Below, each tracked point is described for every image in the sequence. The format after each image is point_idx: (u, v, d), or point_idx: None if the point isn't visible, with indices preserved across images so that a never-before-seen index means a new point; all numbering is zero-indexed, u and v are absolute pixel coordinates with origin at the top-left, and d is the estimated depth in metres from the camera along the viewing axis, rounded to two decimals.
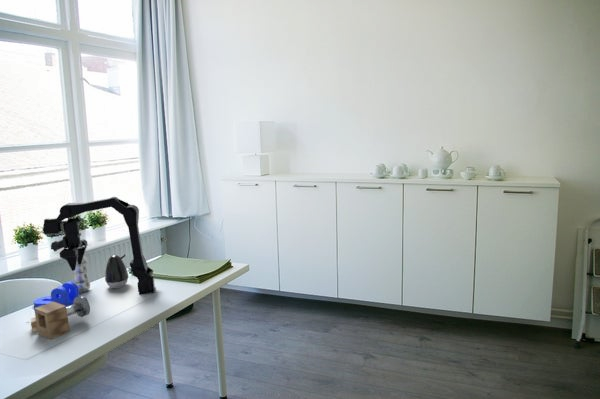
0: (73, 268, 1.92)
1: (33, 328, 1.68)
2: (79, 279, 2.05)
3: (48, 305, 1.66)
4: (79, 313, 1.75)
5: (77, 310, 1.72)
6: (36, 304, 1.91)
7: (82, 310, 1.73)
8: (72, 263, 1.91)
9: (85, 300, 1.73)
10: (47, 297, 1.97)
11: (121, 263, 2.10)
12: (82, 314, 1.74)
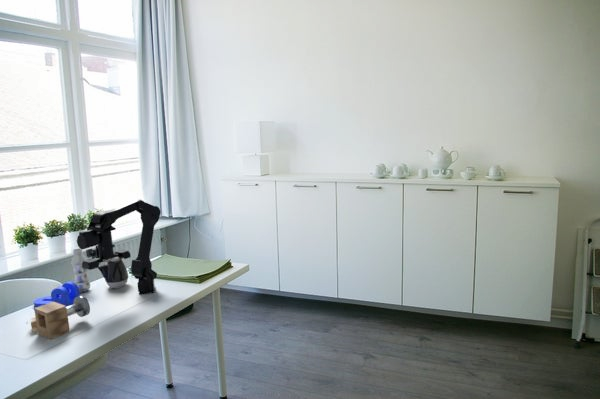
0: (105, 278, 1.85)
1: (33, 328, 1.68)
2: (79, 279, 2.05)
3: (48, 305, 1.66)
4: (79, 313, 1.75)
5: (77, 310, 1.72)
6: (36, 304, 1.91)
7: (82, 310, 1.73)
8: (103, 273, 1.84)
9: (85, 300, 1.73)
10: (47, 297, 1.97)
11: (121, 263, 2.10)
12: (82, 314, 1.74)
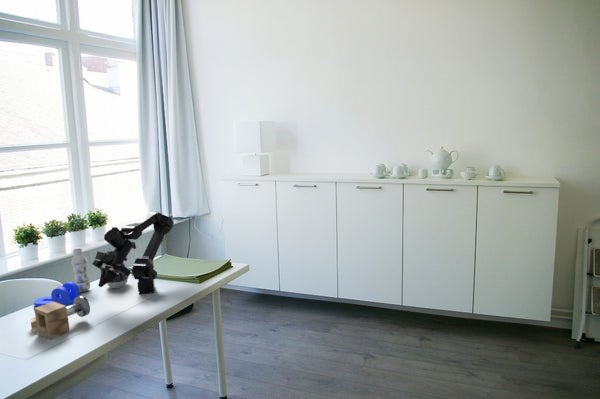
0: (102, 284, 1.81)
1: (33, 328, 1.68)
2: (79, 279, 2.05)
3: (48, 305, 1.66)
4: (79, 313, 1.75)
5: (77, 310, 1.72)
6: (36, 304, 1.91)
7: (82, 310, 1.73)
8: (107, 279, 1.82)
9: (85, 300, 1.73)
10: (48, 297, 1.97)
11: None
12: (82, 314, 1.74)
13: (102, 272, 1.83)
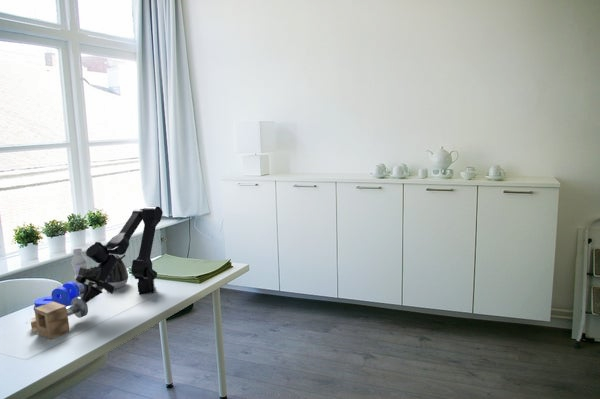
0: None
1: (33, 328, 1.68)
2: None
3: (48, 305, 1.66)
4: (77, 314, 1.74)
5: (75, 311, 1.71)
6: (36, 304, 1.91)
7: (80, 311, 1.72)
8: (90, 296, 1.76)
9: (83, 301, 1.72)
10: (48, 297, 1.97)
11: None
12: (80, 315, 1.73)
13: (85, 289, 1.77)
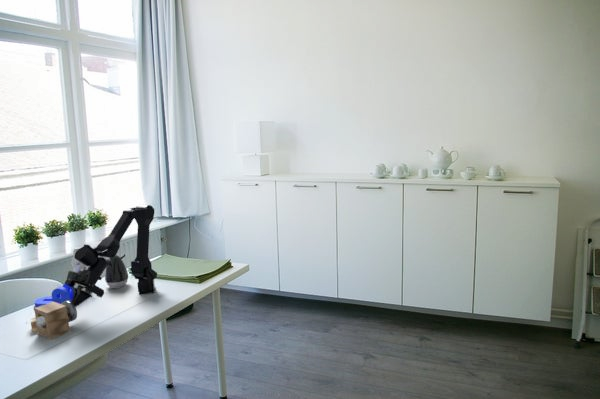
0: None
1: (33, 328, 1.68)
2: None
3: (48, 305, 1.66)
4: None
5: None
6: (36, 304, 1.91)
7: (69, 315, 1.69)
8: (79, 300, 1.73)
9: (72, 305, 1.69)
10: (48, 297, 1.97)
11: (121, 263, 2.10)
12: (69, 319, 1.69)
13: (74, 292, 1.73)
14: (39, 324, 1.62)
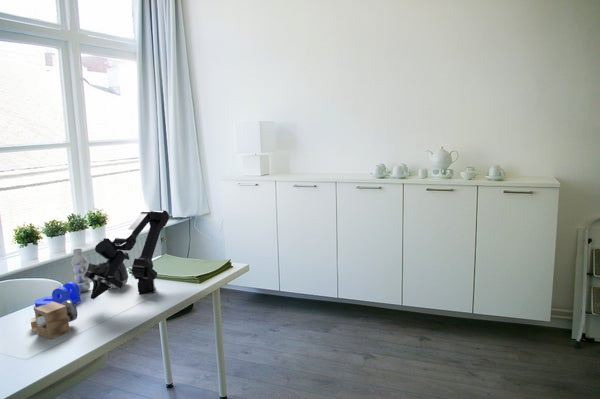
0: (94, 297, 1.79)
1: (33, 328, 1.68)
2: (79, 279, 2.05)
3: (48, 305, 1.66)
4: None
5: None
6: (37, 304, 1.91)
7: (69, 315, 1.69)
8: (99, 292, 1.79)
9: (72, 305, 1.69)
10: (48, 297, 1.97)
11: None
12: (69, 319, 1.70)
13: (94, 284, 1.80)
14: (39, 324, 1.62)
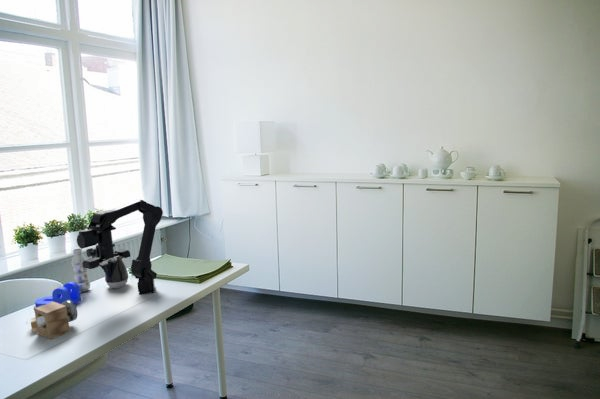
0: (108, 276, 1.87)
1: (33, 328, 1.68)
2: (79, 279, 2.05)
3: (48, 305, 1.66)
4: None
5: None
6: (37, 304, 1.91)
7: (69, 315, 1.69)
8: (106, 271, 1.86)
9: (72, 305, 1.69)
10: (49, 297, 1.97)
11: (121, 263, 2.10)
12: (69, 319, 1.70)
13: None
14: (39, 324, 1.62)
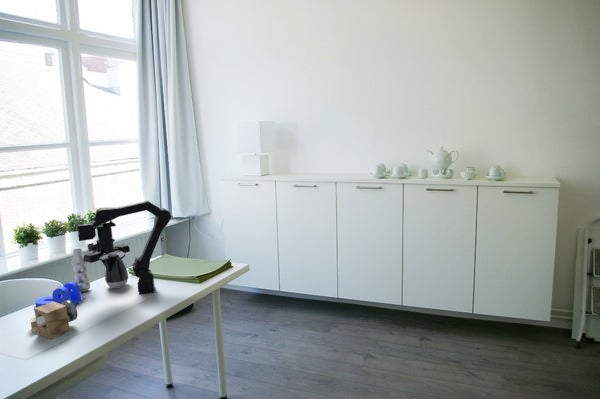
0: (108, 270, 1.95)
1: (33, 328, 1.68)
2: (79, 279, 2.05)
3: (48, 305, 1.66)
4: None
5: None
6: (37, 304, 1.91)
7: (69, 315, 1.69)
8: (106, 265, 1.94)
9: (72, 305, 1.69)
10: (49, 297, 1.97)
11: (121, 263, 2.10)
12: (69, 319, 1.70)
13: None
14: (39, 324, 1.62)
